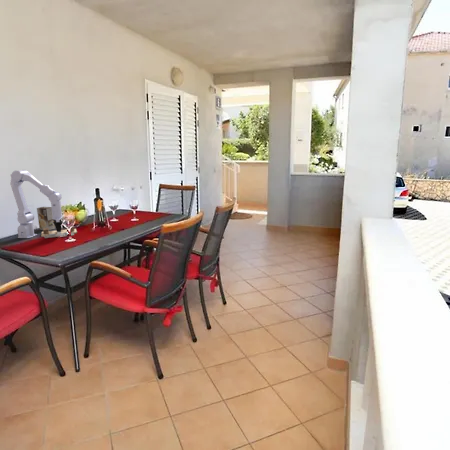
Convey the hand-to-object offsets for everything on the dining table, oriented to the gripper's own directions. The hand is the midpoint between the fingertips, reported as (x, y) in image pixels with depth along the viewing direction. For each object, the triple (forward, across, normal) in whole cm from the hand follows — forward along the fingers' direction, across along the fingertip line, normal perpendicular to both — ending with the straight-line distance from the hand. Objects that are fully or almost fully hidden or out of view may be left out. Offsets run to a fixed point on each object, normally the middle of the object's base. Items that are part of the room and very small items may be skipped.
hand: (59, 230), depth 229 cm
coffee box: (+4, +27, +8) cm, 28 cm away
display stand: (+4, +9, 0) cm, 10 cm away
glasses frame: (+4, 0, 0) cm, 4 cm away
